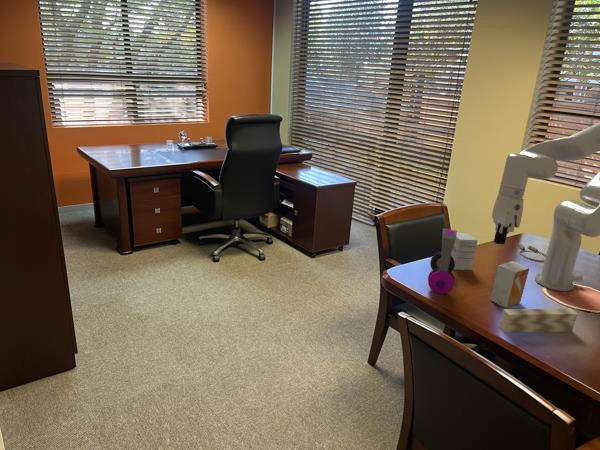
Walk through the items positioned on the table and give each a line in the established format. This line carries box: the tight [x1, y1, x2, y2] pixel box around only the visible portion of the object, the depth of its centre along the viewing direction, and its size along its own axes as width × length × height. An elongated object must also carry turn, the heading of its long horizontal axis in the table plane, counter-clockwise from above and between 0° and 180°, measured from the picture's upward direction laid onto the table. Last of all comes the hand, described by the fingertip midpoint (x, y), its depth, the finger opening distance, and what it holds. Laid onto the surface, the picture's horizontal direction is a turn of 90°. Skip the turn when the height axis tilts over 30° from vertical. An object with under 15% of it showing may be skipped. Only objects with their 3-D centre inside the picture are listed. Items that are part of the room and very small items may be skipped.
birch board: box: [498, 308, 578, 333], centre depth 133 cm, size 22×3×6 cm, turn 97°
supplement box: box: [451, 232, 478, 271], centre depth 173 cm, size 7×7×13 cm
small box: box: [490, 261, 530, 309], centre depth 147 cm, size 8×6×13 cm
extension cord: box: [518, 243, 546, 263], centre depth 191 cm, size 12×16×2 cm
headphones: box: [427, 228, 458, 295], centre depth 156 cm, size 21×9×20 cm, turn 162°
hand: (498, 243), depth 153 cm, fingers closed
